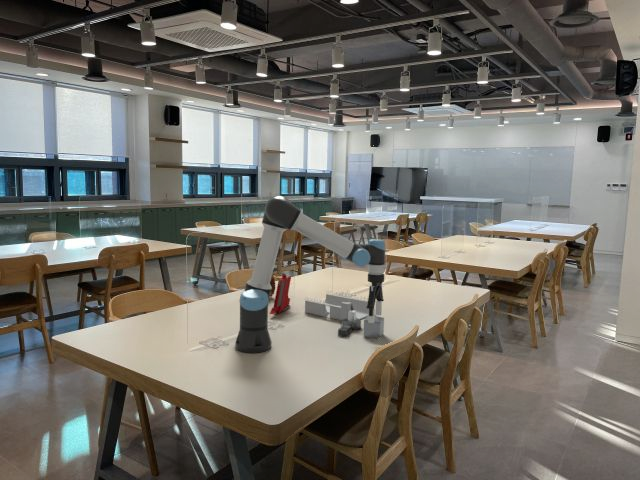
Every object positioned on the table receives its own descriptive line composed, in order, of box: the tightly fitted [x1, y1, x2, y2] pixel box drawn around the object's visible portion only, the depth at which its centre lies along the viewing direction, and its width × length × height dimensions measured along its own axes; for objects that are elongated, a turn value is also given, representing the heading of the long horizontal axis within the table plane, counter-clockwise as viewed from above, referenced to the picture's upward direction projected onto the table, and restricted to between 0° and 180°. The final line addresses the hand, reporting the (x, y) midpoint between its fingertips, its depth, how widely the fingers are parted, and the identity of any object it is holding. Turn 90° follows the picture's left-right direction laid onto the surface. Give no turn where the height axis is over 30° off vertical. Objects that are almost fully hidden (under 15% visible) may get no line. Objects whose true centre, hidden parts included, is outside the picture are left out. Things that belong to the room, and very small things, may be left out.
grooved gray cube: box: [362, 316, 385, 339], centre depth 219 cm, size 8×8×8 cm
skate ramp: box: [304, 290, 372, 322], centre depth 253 cm, size 30×27×11 cm
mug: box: [270, 273, 276, 298], centre depth 281 cm, size 11×16×15 cm, turn 132°
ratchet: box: [337, 310, 362, 338], centre depth 226 cm, size 20×9×8 cm, turn 159°
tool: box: [269, 272, 292, 315], centre depth 258 cm, size 24×5×25 cm, turn 168°
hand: (374, 318), depth 218 cm, fingers open, 13 cm apart
